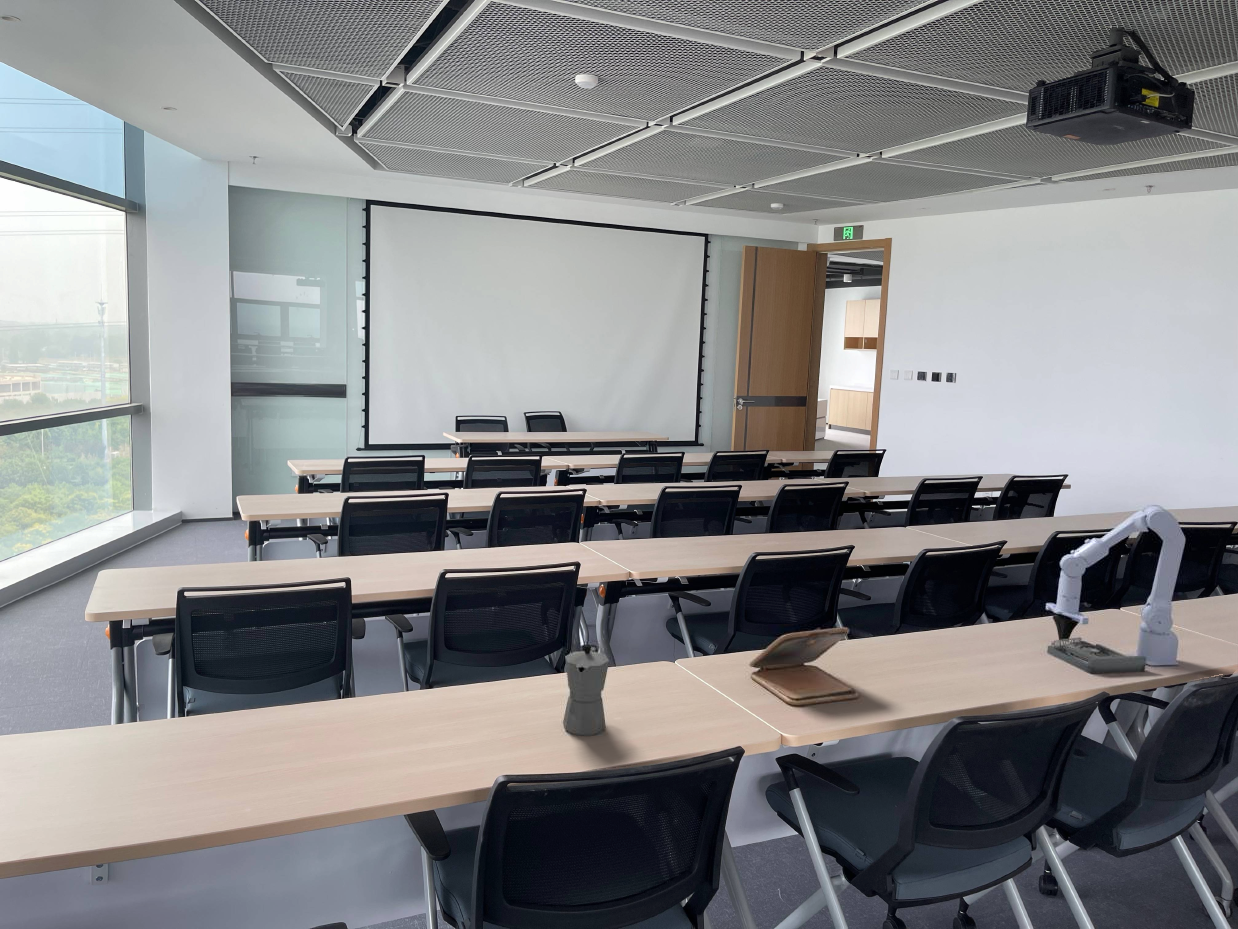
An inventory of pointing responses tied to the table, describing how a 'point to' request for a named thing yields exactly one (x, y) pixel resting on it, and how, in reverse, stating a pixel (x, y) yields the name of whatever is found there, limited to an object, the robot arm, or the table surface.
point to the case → (801, 668)
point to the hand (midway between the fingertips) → (1063, 640)
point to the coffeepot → (585, 691)
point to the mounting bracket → (1103, 662)
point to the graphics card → (1083, 649)
